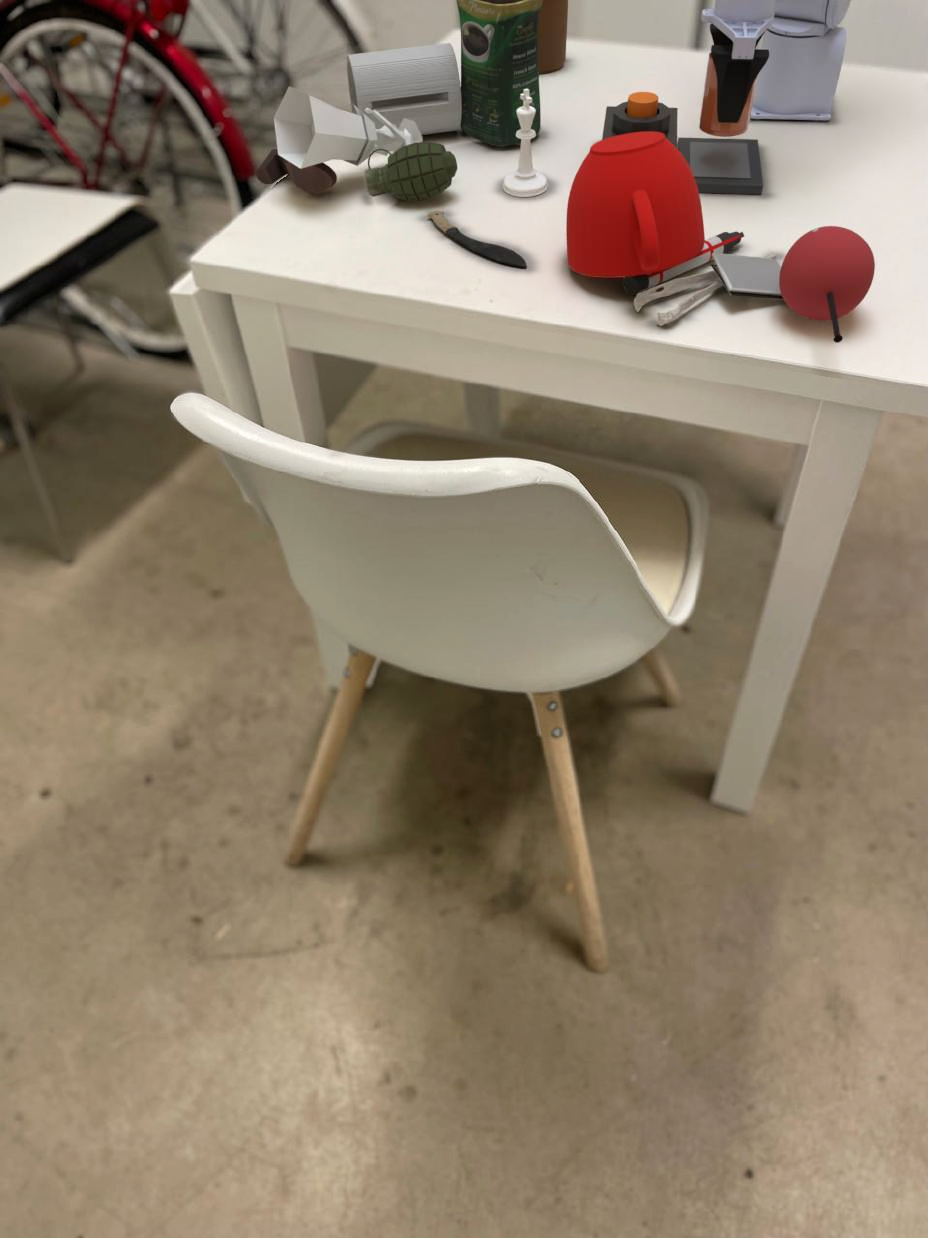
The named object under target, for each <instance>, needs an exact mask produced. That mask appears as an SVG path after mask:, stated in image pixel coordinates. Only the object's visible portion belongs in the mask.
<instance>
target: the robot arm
mask: <svg viewBox="0 0 928 1238" xmlns="http://www.w3.org/2000/svg"><path fill="white" fill-rule="evenodd" d="M851 2H852V0H715V1H714V8H704V9H703V10H701V16H700V21H701V22H702V23H704V24H706V23H707V24H709V32H710V35H711V38H712V43H713V44H712V45H711V47H710V53H711V56H712V60H713V63H714V66H715V70H716V75H717V116H718V122H721V123H738V121H739V119H740V117H741V115H742V112H743V109H744V107H745V104H746V101H747V98H748V95H749V93H750V90H751V88H752V85H753V83H754V81H755V79H756V77H757V76H758V78H757V83H756V89H755V94H754V100H753V105H752V111H751V116H750V119H752V120H753V119H754V120H793V121H795V120H797V121H798V120H799V121H800V120H802V121H829V120H831V112H832V108H833V105H834V100H835V95H836V91H837V87H838V83H839V79H840V74H841V70H842V66H843V61H844V57H845V51H846V45H847V44H846V43H847V31H846V28H845V27H844V26H839V25H840V24H841V23H842V21H843V20H844V19H845V17H846V15H847V13H848V9H849V8H850V4H851ZM761 39H762V41H761ZM760 41H761V47H760V49H758V48H757V47H758V44H759V42H760ZM756 48H757V49H756Z"/></svg>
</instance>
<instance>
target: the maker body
mask: <svg viewBox="0 0 928 1238" xmlns="http://www.w3.org/2000/svg"><path fill="white" fill-rule="evenodd" d="M627 107H628V101H623V102H621V103H619V104H618V105H615V106H613V105H611V106H610V105H607V106H606V108H605V115H604V123H603V128H602V129H603V130H602V137H601V140H604V139H607V138H610V137H614V136H618V135H622V134H628V133H635V132H647V131H652V132H660V133H663V134H665V137H666V139H668V140H669V141H670V142H671V143H672V144H673V145H674V146H675V147H676V148H677V144H678V107H669V106H667V105H666V104H665V103H663V102H659V101H658V107H657V115H656V116H654V117H649V118H636V117H632V116H628V115H627Z"/></svg>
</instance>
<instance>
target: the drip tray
mask: <svg viewBox="0 0 928 1238" xmlns="http://www.w3.org/2000/svg"><path fill="white" fill-rule="evenodd" d="M677 149H678V151H679V152H680V153H681V154H682V156H683V157H684V158H685V160H686V162H687V163H688V165H689V167H690V169H691V171H692V173H693V176H694V179H695V181H696V184H697V188H698V192H699V194H700V193H701V194H702V193H703V194H729V195H730V194H731V195H732V194H734V195H762V194H763V189H764V180H763V172H762V164H761V154H760V147H759V140H758V139H756V138H755V139H753V138H752V139H751V138H717V137H716V138H715V137H713V138H712V137H677Z"/></svg>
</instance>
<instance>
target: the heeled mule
mask: <svg viewBox="0 0 928 1238" xmlns="http://www.w3.org/2000/svg"><path fill="white" fill-rule="evenodd" d="M255 175H256V178H257V180H258V181H259V182H260V183H262V184H264V185H272V184H274V183H275V182H277V181H279V180H280V179H281V178H283V177H284V176H287V175H288V176H291V178H292V179H291V180H292V181H293V183H294V185H295V187H297V188H299V189H300V190H302V191H304V192H306V193H308V194H314V195H320V194H321V193H324V192H325V193H326V192H327V191H328V190H330V189H331V188H332V187H334V186H335V185H336V184H337V181H338V176H337V173H336V171H335V170H334V169H333V168H332V167H330V165H327V164H326V163H325V162H322V163H319V164H315V165H312V166H308V167H305V168H302V169H300V168H299V167H297V166H295V165H294V164H292V163H291V162H289V161H288V160H286V159H284V158H283V157H281V156H280V155H278V149H277V148H275V149H274V148H273V149H271V150H270V151H269V153H268V154H267V155H266V157H265V159H263V161H262V163H261V164H260V165H259V167H258V168H257V169H256V170H255Z"/></svg>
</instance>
